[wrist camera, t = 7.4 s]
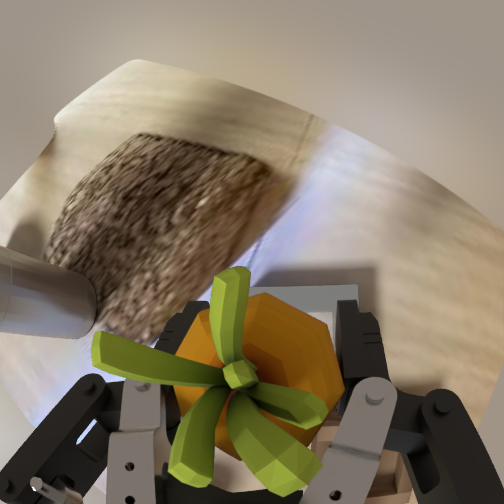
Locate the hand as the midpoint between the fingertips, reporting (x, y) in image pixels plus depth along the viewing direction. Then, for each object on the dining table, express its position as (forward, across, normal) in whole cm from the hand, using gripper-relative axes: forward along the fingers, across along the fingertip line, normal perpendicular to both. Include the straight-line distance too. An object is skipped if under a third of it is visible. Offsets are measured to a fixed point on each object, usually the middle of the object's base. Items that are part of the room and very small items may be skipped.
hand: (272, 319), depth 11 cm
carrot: (+4, 0, +6) cm, 7 cm away
